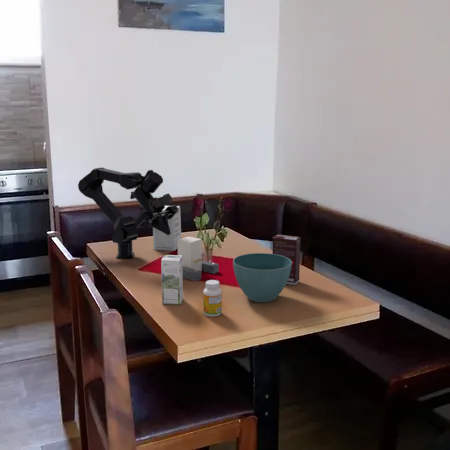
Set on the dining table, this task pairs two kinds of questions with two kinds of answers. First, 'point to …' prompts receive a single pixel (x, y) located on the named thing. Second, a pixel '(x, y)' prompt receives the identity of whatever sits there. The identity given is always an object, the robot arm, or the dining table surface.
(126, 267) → the dining table surface
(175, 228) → the supplement box
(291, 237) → the supplement box
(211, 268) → the housing
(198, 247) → the plug
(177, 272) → the syrup box
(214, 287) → the supplement bottle
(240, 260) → the teal bowl
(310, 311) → the dining table surface
